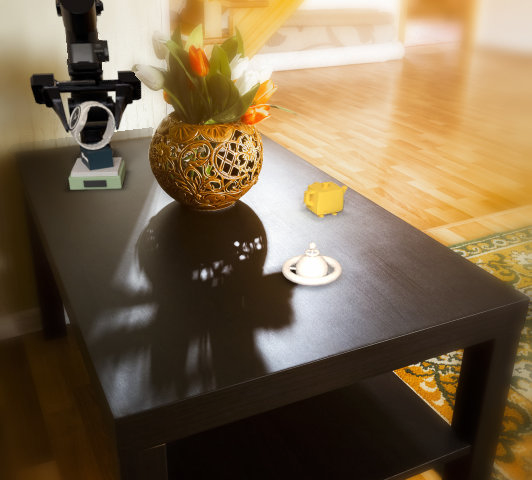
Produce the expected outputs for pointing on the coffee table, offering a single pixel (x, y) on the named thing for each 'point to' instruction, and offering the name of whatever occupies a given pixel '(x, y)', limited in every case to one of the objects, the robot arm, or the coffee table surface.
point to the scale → (97, 176)
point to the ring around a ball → (311, 268)
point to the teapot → (324, 198)
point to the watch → (96, 152)
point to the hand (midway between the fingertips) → (92, 130)
